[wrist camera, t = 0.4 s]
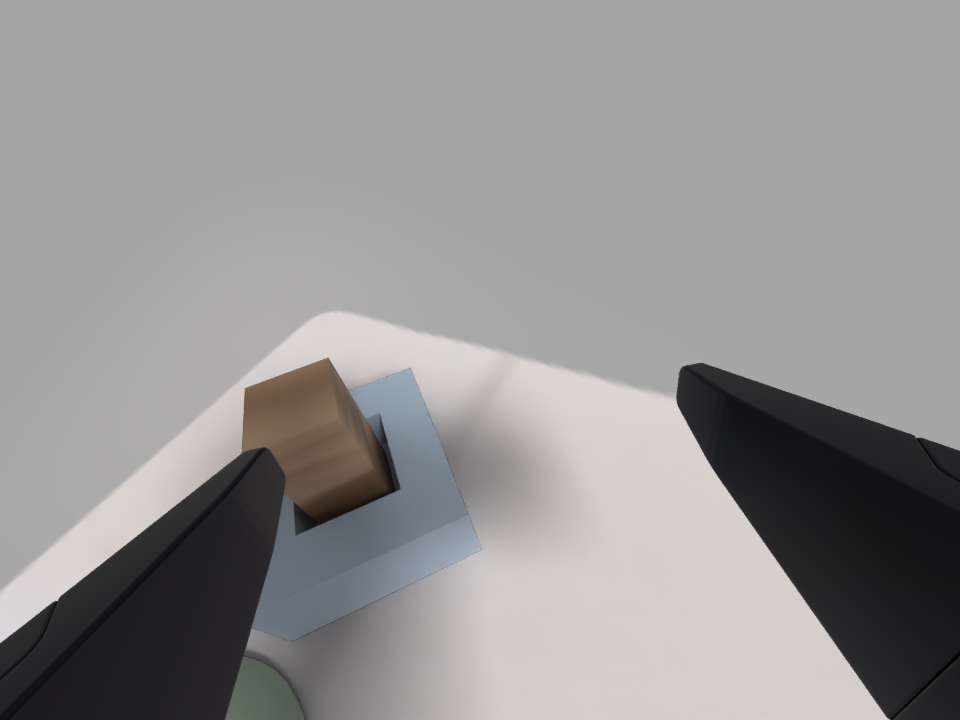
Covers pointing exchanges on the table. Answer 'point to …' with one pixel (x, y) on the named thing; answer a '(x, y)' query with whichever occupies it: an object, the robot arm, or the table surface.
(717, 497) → the table surface
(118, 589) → the robot arm
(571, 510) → the table surface
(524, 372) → the table surface
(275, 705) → the sage-green mat
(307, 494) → the walnut peg
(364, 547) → the slate-blue holder
